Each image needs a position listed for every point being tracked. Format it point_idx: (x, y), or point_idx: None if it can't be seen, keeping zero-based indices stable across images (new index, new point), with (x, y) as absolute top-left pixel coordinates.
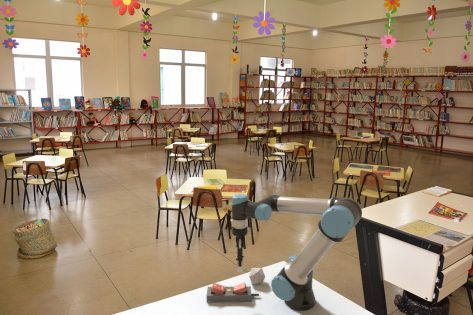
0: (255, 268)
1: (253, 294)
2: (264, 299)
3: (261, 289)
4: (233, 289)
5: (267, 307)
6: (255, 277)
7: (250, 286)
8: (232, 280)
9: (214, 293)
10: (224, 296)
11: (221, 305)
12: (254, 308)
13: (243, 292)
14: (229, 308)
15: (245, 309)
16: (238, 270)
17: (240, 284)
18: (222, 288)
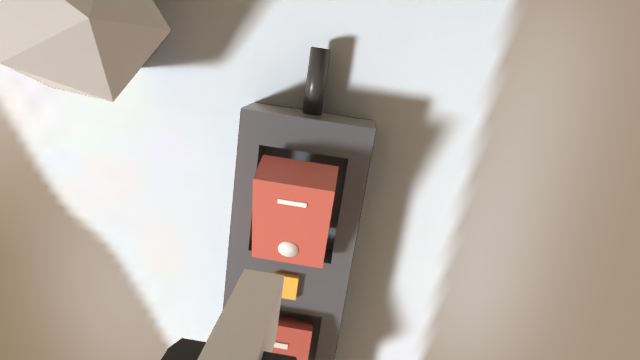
0: (10, 24)
1: (319, 95)
2: (361, 9)
3: (217, 4)
4: (251, 242)
5: (472, 9)
6: (130, 44)
7: (241, 110)
8: (82, 206)
9: None
10: (341, 318)
11: (376, 317)
12: (459, 113)
13: None
14: (419, 276)
15: (455, 178)
16: (273, 336)
17: (262, 213)
18: (284, 344)
